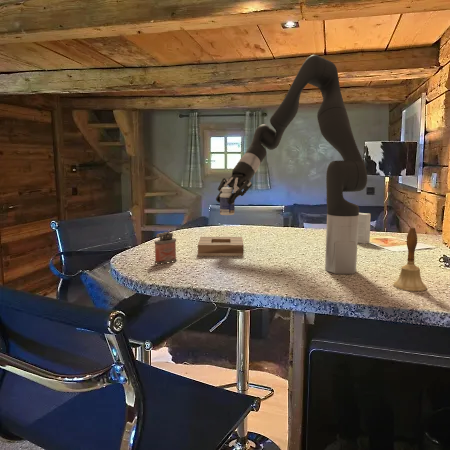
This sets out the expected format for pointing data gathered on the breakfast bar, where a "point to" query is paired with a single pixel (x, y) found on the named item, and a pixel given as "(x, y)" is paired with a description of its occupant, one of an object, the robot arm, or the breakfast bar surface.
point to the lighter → (165, 248)
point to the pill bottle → (224, 205)
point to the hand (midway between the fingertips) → (223, 201)
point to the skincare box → (364, 228)
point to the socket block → (220, 246)
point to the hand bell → (410, 268)
